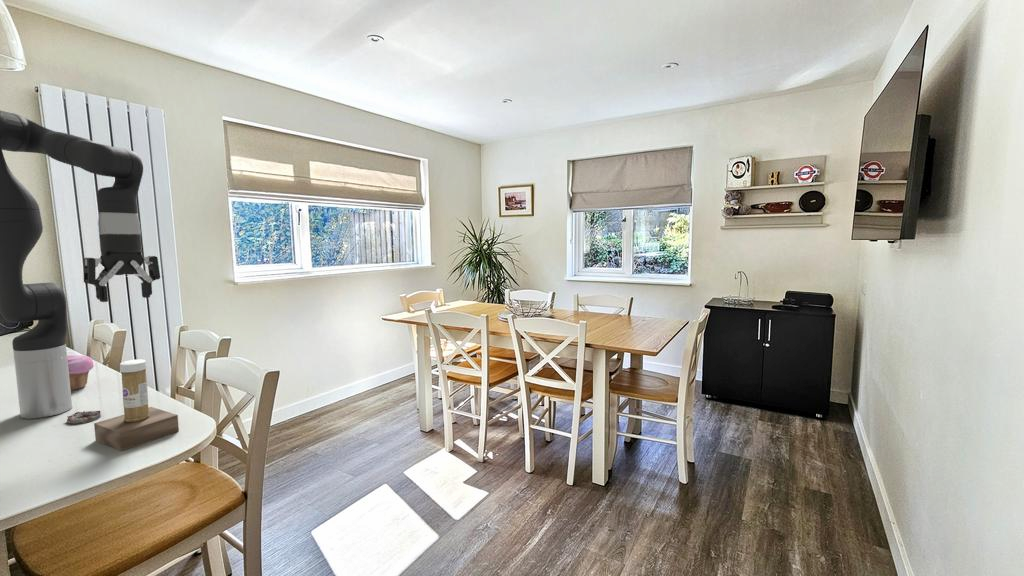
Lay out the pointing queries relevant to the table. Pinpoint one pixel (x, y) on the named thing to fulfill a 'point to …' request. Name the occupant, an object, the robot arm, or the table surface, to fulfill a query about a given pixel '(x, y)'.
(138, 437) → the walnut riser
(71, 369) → the cupcake
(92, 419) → the donut
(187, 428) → the table surface
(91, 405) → the table surface
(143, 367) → the sprinkles bottle
